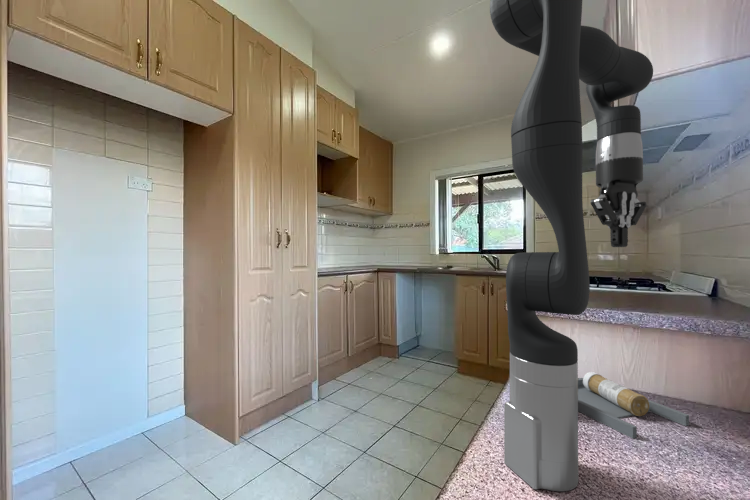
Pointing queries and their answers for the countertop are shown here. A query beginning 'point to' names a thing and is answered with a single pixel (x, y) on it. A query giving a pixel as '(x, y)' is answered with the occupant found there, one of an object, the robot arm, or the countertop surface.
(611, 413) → the grey open-ended tray
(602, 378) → the sprinkles bottle
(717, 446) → the countertop surface
